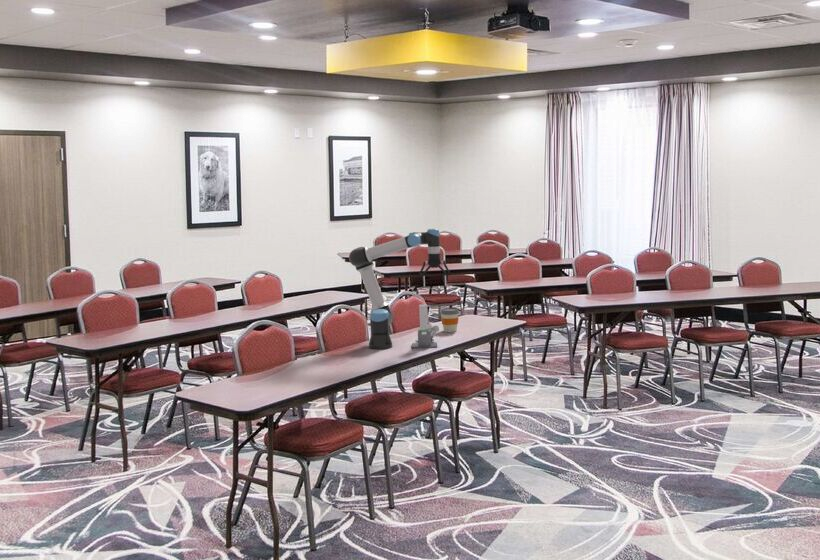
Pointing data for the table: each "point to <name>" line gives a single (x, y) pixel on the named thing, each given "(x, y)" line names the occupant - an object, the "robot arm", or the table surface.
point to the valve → (433, 330)
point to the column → (423, 318)
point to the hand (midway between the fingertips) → (435, 286)
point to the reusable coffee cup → (449, 319)
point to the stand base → (424, 340)
